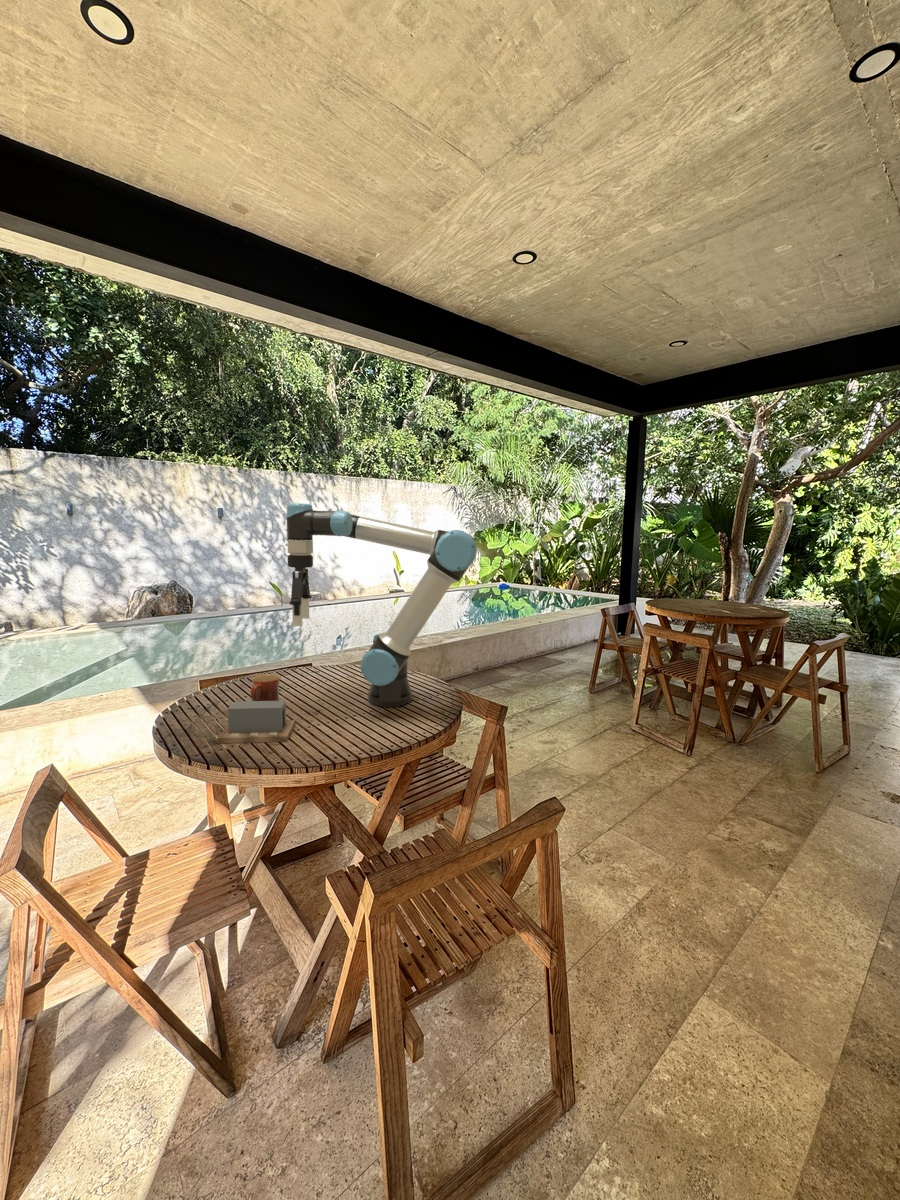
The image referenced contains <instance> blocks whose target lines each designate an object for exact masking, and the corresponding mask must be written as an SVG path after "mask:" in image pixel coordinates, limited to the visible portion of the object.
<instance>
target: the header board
mask: <svg viewBox="0 0 900 1200" xmlns="http://www.w3.org/2000/svg"><path fill="white" fill-rule="evenodd" d="M295 726H296V720H295V719H289V720H288V719H286V725H285V726H282V728H283V730H282V732H268V733H259V732H256V733H229V730H228V725H227V726H226V727H225V728H224V730H223V731H221V733H220V734H219V736H217V738H216V741H217V744H219V745H220V744H249V743H251V744H253V743H255V744H256V743H285V742H288V740H289V738H290V737H291V734H292V732H293V731H294V728H295Z"/></svg>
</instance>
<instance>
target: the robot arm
mask: <svg viewBox="0 0 900 1200" xmlns="http://www.w3.org/2000/svg"><path fill="white" fill-rule="evenodd" d="M286 533H287V535H286V537H287V542H286V543H285V547H287V553H288V554H287V555H288V556H287V566H288V567H289V568H294V571H293V570H292V572H291V574H292V582H291V583H292V584H291V595H290V597H291V598H290V601H289V605H291V606H292V627H303V620H305V619H308V620H309V619H310V599H312V594H311V592H310V591H311V590H310V581H309V569H308V568H313V566H314V556H313V555H312V554H314V540H313V536H326V537H328V536H331V537H346V538H350V539H354V540H355V539H356V540H361V541H366V542H369V543H373V544H374V543H375V544H380V545H384V546H387V547H394V548H397V549H403V550H406V551H411V552H416V553H419V554H425V555H428V556H429V557H428V558H427V562H426V563H427V569H426V571H425V573H424V574H423V575H422V578H420V580H419V582H418V584H417V585H416V586H415V588H414V589H413V591H412V592H411V594H410V595H409V597H408V599H407V600H406V602H405V603H404V605H403V606H402V608H401V609H400V611H399V612H398V614H397V615H396V617H395V619H394V621H393V622H392V623H391V625H390V626H389V627H388V629H387V631H385V632H381V633H377V634H374V635H373V640H372V645H371V646H370V648H369V649H368V651H367V652H365V653H364V655H363V656H362V659H361V661H360V671H361V674H362V676H363V678H364V679H365V680H366V681H367V682H369V684H370V688H369V690H368V694H367V701H368V703H370V704H371V705H374V706H378V707H382V708H383V707H384V708H393V707H395V706H396V707H401V706H400V705H402V706H405V705H407V704H406V703H408V702H410V701H411V700H413V692H412V688H411V685H410V682H409V679H408V659H409V658H410V656H411V654H412V651H411V646H412V645H413V643H414V641H415V640H416V638H417V637H418V635H419V633H421V630H422V629H423V627H424V626H425V625H426V623H427V621H428V620H429V619H430V617H431V616H432V614H433V612H434V611H435V610H436V608H437V607H438V605H439V604H440V602H441V601H442V599H443V597H444V596H445V594H446V593H447V592H448V590H449V589H450V587H451V585H452V584H454V583H459V582H461V580H462V578H463V577H464V575H465V573H466V572H467V570H468V569H469V568H470V566H471V565H472V564H473V563H474V561H475V560H476V556H477V552H478V547H477V543H476V541H475V539H474V537H472V535H470V534H469V533H468V532H466V531H464V530H461V529H460V530H459V529H452V530H449V531H447V530H442V529H437V530H436V531H431V530H427V529H423V528H418V527H413V526H408V525H407V526H406V525H403V524H398V523H393V522H389V521H384V520H379V519H375V518H369V517H365V516H360V515H355V514H351V513H350V512H349V511H345V510H315V509H314V510H313V506H312V504H310V503H300V502H299V503H298V502H295V503H294V502H293V503H291V502H290V503H289V504H288V505H287V506H286ZM411 702H412V701H411ZM411 702H410V703H411ZM404 704H405V705H404ZM408 704H409V703H408ZM396 707H395V708H396Z"/></svg>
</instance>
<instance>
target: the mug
mask: <svg viewBox="0 0 900 1200" xmlns="http://www.w3.org/2000/svg"><path fill="white" fill-rule="evenodd" d="M251 681H252V685H253V686H251V689H250V699H251V701H280V695H279V694H280V692H279V690H280V689H279V687H280V686H279V685H280V681H281V675H279V674H273V673H266V674H257V675H255V676H253V677H252V678H251Z"/></svg>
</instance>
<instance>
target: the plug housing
mask: <svg viewBox="0 0 900 1200" xmlns="http://www.w3.org/2000/svg"><path fill="white" fill-rule="evenodd" d="M286 704H287V703H286V700H279V701H252V700H249V701H248V700H247V701H246V700H243V701H234V702H233V703H232V704H231V705H230V706H229V707H228V708H227V719H228V720H227V723H228V724H227V726H228V730H229V733H256V732H259V733H268V732H282V730H283V728H282V726H285V725H286V720H287V717H286V716H287V713H286V711H287V707H286V706H287V705H286Z"/></svg>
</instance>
